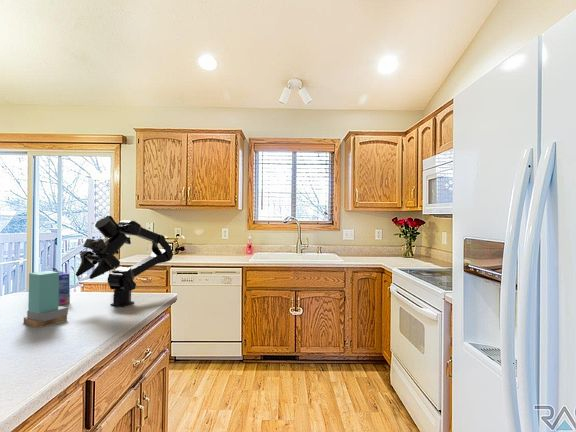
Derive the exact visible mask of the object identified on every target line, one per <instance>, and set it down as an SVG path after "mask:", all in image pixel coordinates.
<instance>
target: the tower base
mask: <svg viewBox="0 0 576 432" xmlns="http://www.w3.org/2000/svg"><path fill="white" fill-rule="evenodd" d="M64 322H68V315H65V316H61V317H58V318H54V319H51V320H47V321H39V320H33V319H27V316H25V317H23V324H24V325H27V326H29V327H32V328H35V329H38V328H43V327H47V325H48V326H51V325H55V324H60V323H64Z"/></svg>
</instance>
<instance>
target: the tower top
mask: <svg viewBox="0 0 576 432" xmlns="http://www.w3.org/2000/svg"><path fill="white" fill-rule="evenodd" d="M68 314H69V307H67V306H61V305H58V309H56V310H52V311H47V312H43V313H39V314H38V313H34V312H31V311H28V310H27V311H26V317H27V319H33V320H39V321H47V320H51V319H54V318H58V317H61V316H65V315H67V316H68Z"/></svg>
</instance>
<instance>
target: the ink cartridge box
mask: <svg viewBox="0 0 576 432" xmlns="http://www.w3.org/2000/svg"><path fill="white" fill-rule="evenodd" d="M51 269H52V271H54V272H59V297H58V306H61V305H65V304H66V305H67V304H70V302H71V296H70V295H71V293H70V292H71V291H70V286H71V284H70V283H71V281H70V273H67V272H64V271H58V269H57V268H56V267H52V268H51Z"/></svg>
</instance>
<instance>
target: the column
mask: <svg viewBox="0 0 576 432" xmlns="http://www.w3.org/2000/svg"><path fill="white" fill-rule="evenodd" d="M58 297H59V271H58V272H55V271H54V270H44V271H37V272H29V273H28V302H27V303H28V304H27V305H28V307H27V308H28V309H27V311H31V312H34V313H38V314H39V313H43V312H47V311H52V310H56V309H58V306H59V305H58Z"/></svg>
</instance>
